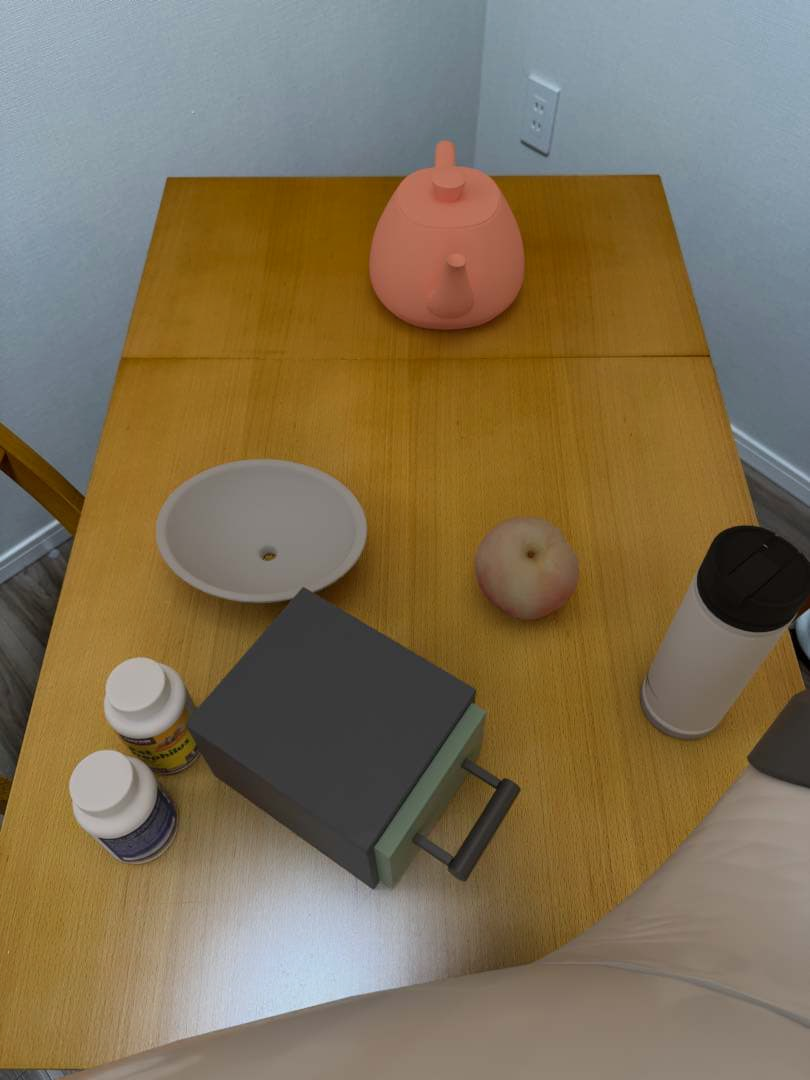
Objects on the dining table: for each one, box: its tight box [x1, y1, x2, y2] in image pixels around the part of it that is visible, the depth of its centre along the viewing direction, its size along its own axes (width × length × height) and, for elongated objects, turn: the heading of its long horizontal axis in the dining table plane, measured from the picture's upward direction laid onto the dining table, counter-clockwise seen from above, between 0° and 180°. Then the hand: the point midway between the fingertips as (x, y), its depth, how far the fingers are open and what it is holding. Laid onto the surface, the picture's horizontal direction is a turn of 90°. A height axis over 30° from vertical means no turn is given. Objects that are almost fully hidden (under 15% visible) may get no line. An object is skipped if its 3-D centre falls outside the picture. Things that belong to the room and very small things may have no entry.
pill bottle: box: [68, 749, 180, 865], centre depth 57 cm, size 5×5×10 cm
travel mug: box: [639, 524, 810, 741], centre depth 58 cm, size 6×7×20 cm
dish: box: [155, 458, 368, 604], centre depth 72 cm, size 18×14×5 cm
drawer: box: [374, 703, 522, 890], centre depth 59 cm, size 18×11×8 cm, turn 56°
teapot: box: [368, 140, 525, 331], centre depth 89 cm, size 25×17×13 cm
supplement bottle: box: [103, 656, 202, 775], centre depth 61 cm, size 6×6×10 cm
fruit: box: [474, 516, 580, 621], centre depth 69 cm, size 8×8×8 cm
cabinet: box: [185, 587, 477, 891], centre depth 60 cm, size 15×13×10 cm
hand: (671, 901), depth 46 cm, fingers closed
